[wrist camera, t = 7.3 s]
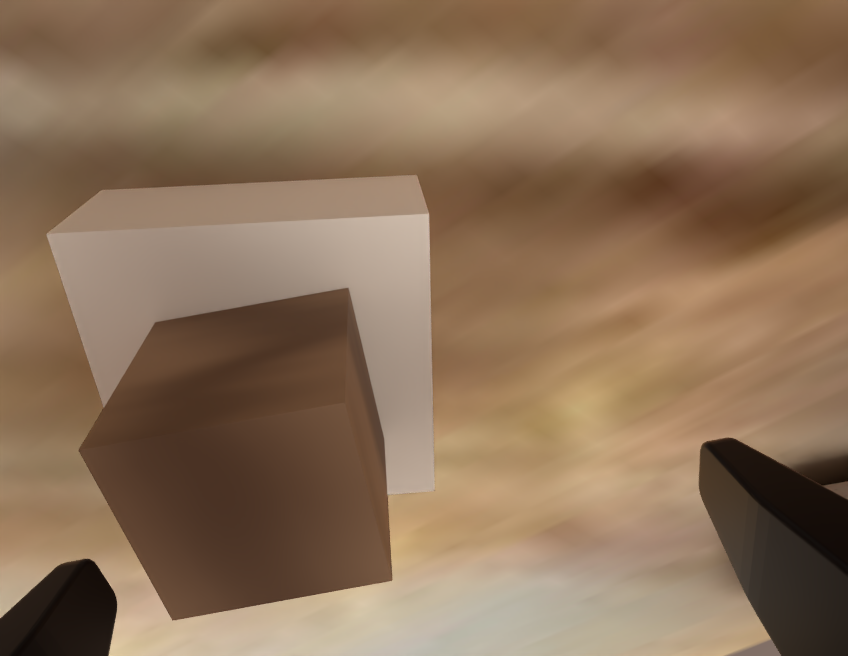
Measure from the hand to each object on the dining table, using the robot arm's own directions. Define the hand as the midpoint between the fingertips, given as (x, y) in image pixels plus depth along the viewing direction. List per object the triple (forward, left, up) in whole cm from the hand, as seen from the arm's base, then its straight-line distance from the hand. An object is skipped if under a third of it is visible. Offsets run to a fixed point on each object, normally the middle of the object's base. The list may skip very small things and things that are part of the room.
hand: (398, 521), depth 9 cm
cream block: (+4, +2, -12) cm, 13 cm away
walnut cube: (+3, +2, -8) cm, 9 cm away
